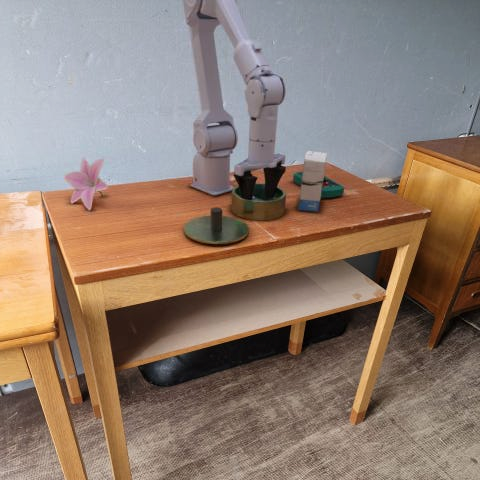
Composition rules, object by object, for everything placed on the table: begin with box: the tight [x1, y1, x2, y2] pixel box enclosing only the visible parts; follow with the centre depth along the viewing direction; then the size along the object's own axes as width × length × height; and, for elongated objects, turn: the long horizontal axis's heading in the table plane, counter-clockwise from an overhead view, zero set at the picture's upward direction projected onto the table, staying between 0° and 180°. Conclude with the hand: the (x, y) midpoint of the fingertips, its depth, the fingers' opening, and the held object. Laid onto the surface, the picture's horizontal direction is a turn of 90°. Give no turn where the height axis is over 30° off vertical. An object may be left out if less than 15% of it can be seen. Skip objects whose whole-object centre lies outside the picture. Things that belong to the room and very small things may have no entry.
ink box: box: [297, 150, 328, 213], centre depth 104 cm, size 8×5×12 cm, turn 169°
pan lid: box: [183, 207, 250, 245], centre depth 91 cm, size 14×14×5 cm
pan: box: [231, 182, 287, 221], centre depth 103 cm, size 12×12×4 cm
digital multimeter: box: [292, 170, 345, 200], centre depth 117 cm, size 7×15×3 cm, turn 23°
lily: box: [63, 156, 109, 211], centre depth 103 cm, size 12×12×10 cm
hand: (258, 200), depth 103 cm, fingers open, 7 cm apart
